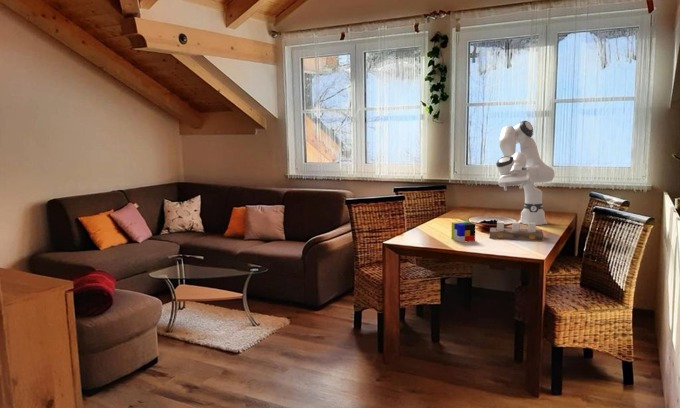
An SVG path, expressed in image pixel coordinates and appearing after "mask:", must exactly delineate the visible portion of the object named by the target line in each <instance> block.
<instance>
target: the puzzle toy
mask: <svg viewBox="0 0 680 408" xmlns="http://www.w3.org/2000/svg"><path fill="white" fill-rule="evenodd" d="M451 240H454V241H456V242H458V241H459V243H464V242H465V241H467V242H475V241H476V223H473V222H470V221H468V220H466V221H452V222H451ZM465 243H466V242H465Z"/></svg>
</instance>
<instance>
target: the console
mask: <svg viewBox="0 0 680 408" xmlns="http://www.w3.org/2000/svg"><path fill="white" fill-rule="evenodd" d="M489 239H498V240H499V239H500V240H501V239H503V240H520V241H521V240H523V241H542V242H543V241H544V232H543V230H542V229H536V232H528V228H520V232H515V231H512V228H505V227H504V231H497V227H489Z"/></svg>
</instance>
